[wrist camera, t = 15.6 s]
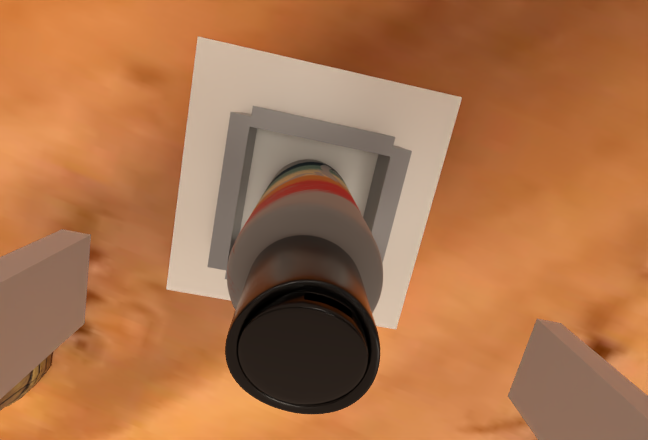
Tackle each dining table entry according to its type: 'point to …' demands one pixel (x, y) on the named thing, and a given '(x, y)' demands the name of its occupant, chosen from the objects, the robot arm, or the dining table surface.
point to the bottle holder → (298, 144)
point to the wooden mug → (26, 383)
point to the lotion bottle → (304, 295)
